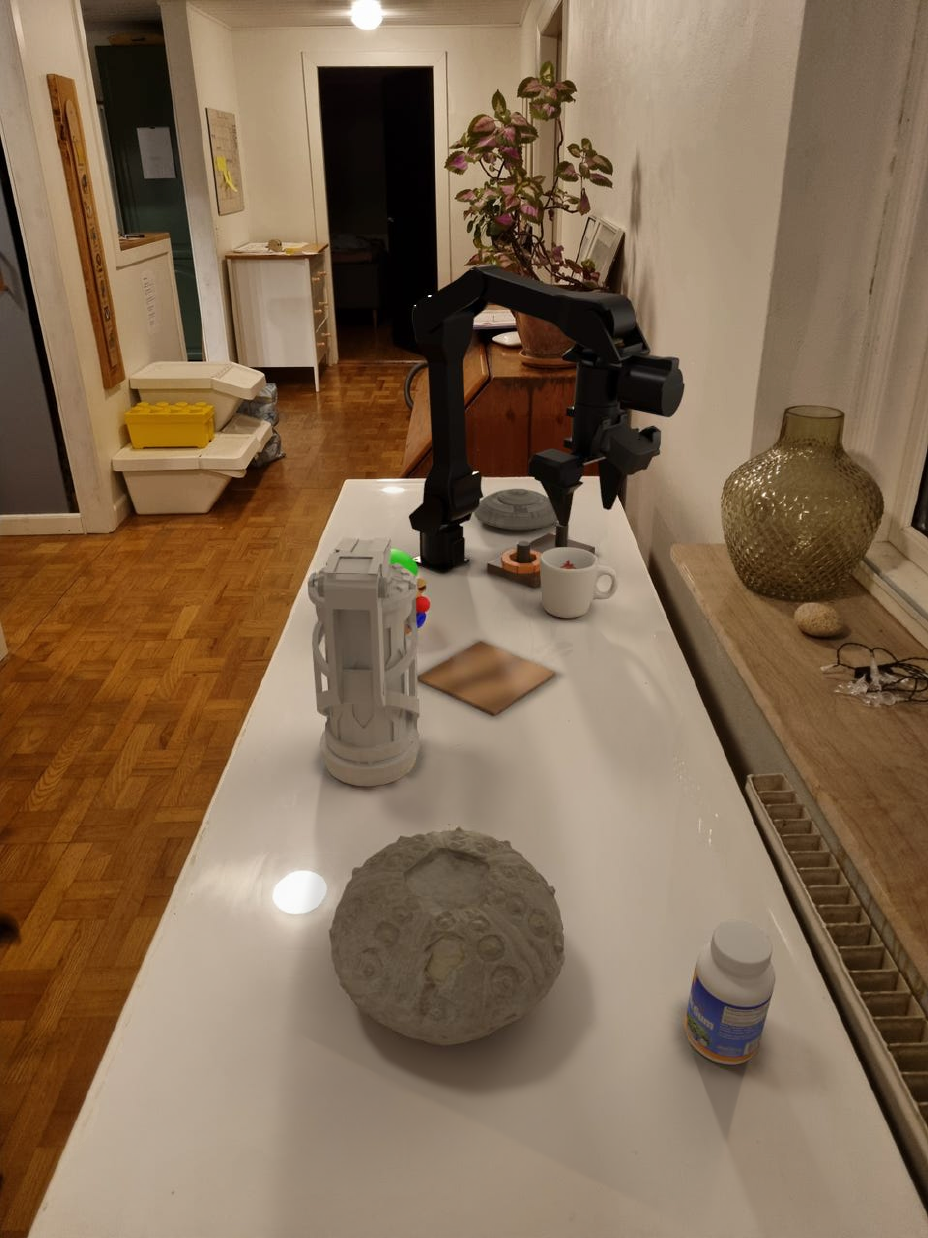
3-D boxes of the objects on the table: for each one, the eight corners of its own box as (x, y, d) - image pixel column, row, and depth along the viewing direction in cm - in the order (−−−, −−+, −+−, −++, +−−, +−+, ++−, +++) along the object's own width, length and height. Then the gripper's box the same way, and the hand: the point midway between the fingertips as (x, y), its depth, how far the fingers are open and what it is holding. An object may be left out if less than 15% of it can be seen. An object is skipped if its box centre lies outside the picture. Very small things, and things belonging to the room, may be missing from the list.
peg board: (486, 571, 140) (487, 541, 137) (548, 541, 151) (550, 512, 148) (534, 588, 135) (536, 557, 132) (594, 555, 145) (597, 526, 143)
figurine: (335, 642, 120) (330, 558, 114) (374, 613, 127) (371, 532, 122) (410, 663, 115) (409, 576, 109) (447, 631, 123) (447, 548, 117)
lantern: (329, 729, 102) (315, 518, 91) (423, 731, 102) (420, 520, 90) (308, 803, 91) (289, 573, 79) (414, 806, 90) (409, 576, 79)
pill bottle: (675, 1006, 70) (691, 912, 65) (744, 1002, 70) (764, 908, 66) (697, 1070, 65) (716, 973, 61) (771, 1065, 66) (795, 968, 61)
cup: (613, 600, 131) (618, 549, 128) (615, 626, 124) (621, 572, 121) (537, 596, 132) (540, 545, 129) (536, 622, 125) (539, 568, 122)
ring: (492, 565, 138) (493, 558, 138) (518, 552, 143) (519, 545, 142) (527, 577, 135) (527, 570, 134) (552, 564, 139) (552, 556, 138)
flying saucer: (546, 542, 150) (548, 510, 148) (461, 529, 155) (461, 498, 152) (570, 511, 163) (572, 482, 160) (490, 500, 167) (491, 471, 165)
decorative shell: (597, 1041, 67) (608, 941, 62) (356, 1104, 63) (349, 1002, 58) (516, 874, 82) (520, 784, 78) (317, 915, 78) (309, 822, 73)
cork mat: (417, 679, 112) (417, 676, 112) (480, 643, 120) (480, 640, 120) (494, 715, 105) (494, 712, 105) (555, 675, 113) (555, 672, 113)
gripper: (601, 429, 104) (589, 555, 112) (693, 402, 116) (676, 517, 124) (528, 408, 111) (521, 528, 119) (622, 384, 123) (610, 494, 130)
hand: (585, 517), depth 123 cm, fingers open, 9 cm apart
